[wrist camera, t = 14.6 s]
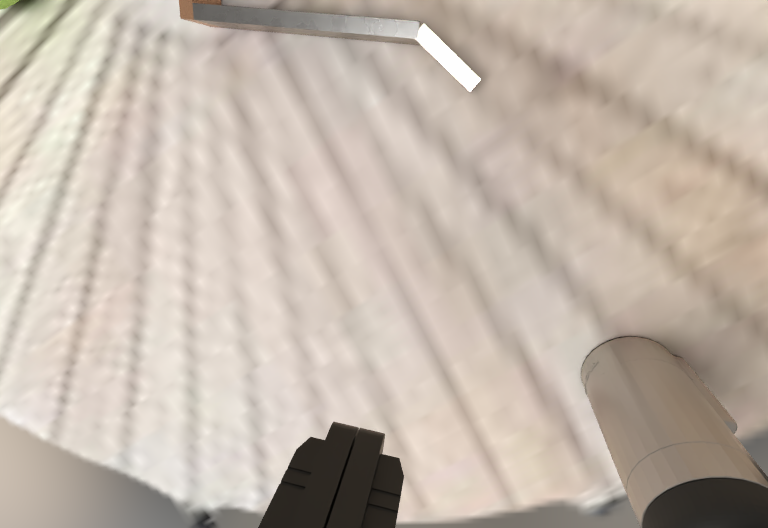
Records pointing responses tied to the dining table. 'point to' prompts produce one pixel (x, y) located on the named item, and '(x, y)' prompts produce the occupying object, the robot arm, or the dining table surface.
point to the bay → (329, 29)
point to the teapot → (7, 3)
